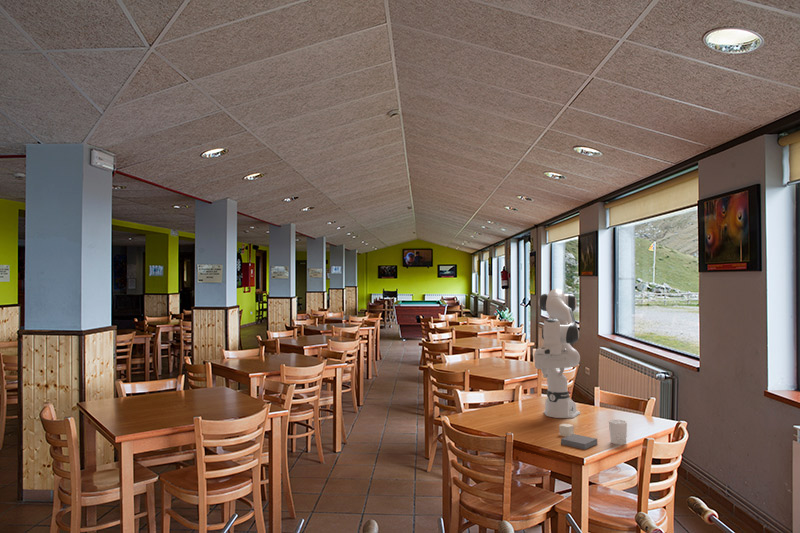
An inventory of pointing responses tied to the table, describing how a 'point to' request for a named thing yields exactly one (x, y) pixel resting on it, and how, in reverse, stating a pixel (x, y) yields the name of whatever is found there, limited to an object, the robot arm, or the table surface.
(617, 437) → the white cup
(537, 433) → the table surface
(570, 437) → the base
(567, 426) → the cube
